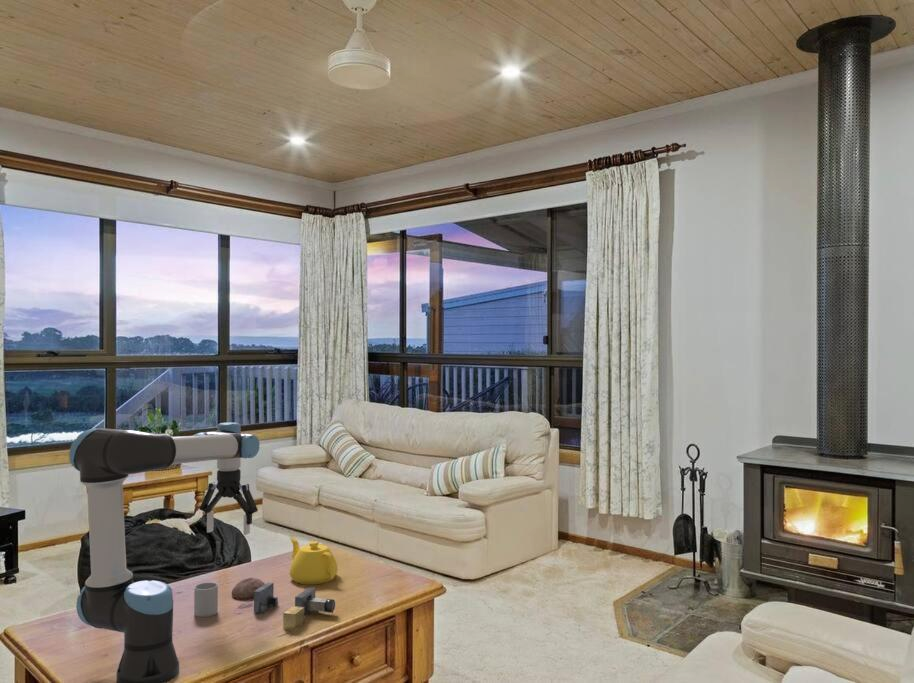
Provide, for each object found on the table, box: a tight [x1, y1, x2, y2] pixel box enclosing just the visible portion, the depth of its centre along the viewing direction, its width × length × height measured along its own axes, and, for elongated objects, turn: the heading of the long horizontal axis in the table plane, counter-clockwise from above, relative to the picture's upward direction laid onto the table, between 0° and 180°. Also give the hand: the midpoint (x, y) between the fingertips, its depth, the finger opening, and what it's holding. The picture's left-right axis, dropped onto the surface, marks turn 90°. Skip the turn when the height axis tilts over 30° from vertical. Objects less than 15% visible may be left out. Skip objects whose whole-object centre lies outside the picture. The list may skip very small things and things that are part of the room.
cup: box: [193, 581, 219, 618], centre depth 226 cm, size 7×10×9 cm
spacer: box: [282, 605, 305, 631], centre depth 215 cm, size 4×6×5 cm, turn 165°
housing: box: [253, 582, 316, 617], centre depth 228 cm, size 18×9×7 cm, turn 75°
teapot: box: [289, 537, 339, 586], centre depth 261 cm, size 25×18×14 cm
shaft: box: [306, 597, 336, 614], centre depth 225 cm, size 12×4×4 cm, turn 75°
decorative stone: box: [231, 577, 266, 601], centre depth 243 cm, size 12×12×6 cm
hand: (228, 532), depth 230 cm, fingers open, 13 cm apart
